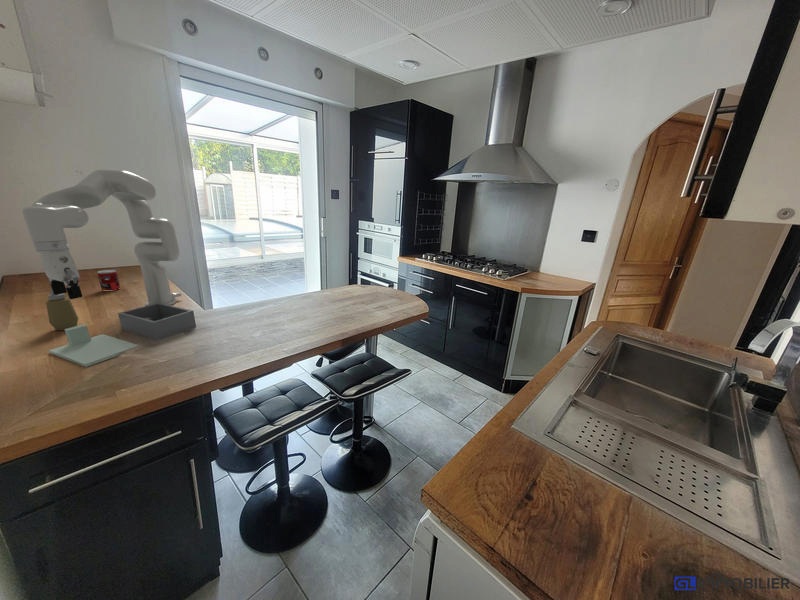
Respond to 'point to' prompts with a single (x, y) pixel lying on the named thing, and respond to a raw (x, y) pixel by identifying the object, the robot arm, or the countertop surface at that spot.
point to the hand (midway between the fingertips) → (68, 295)
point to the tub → (157, 320)
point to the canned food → (108, 279)
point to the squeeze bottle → (61, 312)
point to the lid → (90, 347)
